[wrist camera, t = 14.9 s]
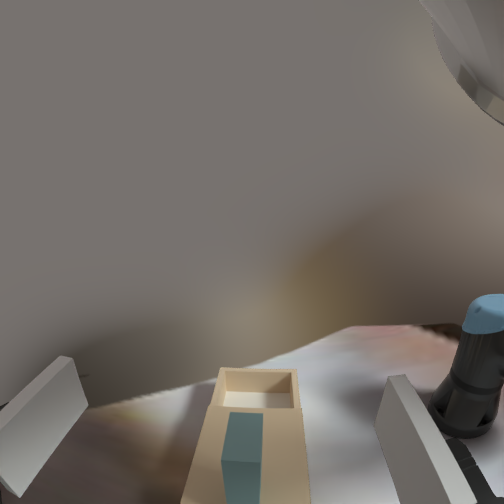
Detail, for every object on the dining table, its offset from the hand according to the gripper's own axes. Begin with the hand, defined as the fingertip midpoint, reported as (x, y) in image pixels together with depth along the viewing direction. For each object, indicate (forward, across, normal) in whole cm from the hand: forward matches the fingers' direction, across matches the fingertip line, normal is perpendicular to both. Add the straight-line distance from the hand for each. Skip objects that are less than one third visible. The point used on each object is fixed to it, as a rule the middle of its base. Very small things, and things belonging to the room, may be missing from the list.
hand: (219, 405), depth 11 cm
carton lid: (+16, 0, -24) cm, 28 cm away
